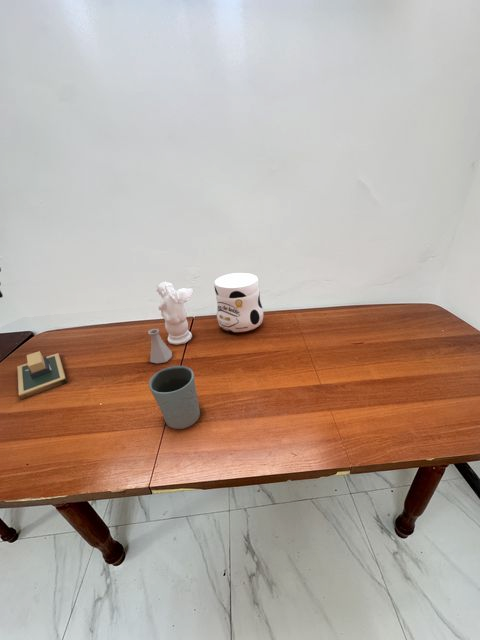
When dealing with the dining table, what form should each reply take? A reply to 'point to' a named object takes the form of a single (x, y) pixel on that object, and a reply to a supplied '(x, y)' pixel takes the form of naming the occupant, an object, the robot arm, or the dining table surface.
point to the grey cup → (176, 396)
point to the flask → (158, 348)
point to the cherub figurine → (175, 312)
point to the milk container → (238, 302)
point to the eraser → (37, 364)
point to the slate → (41, 378)
